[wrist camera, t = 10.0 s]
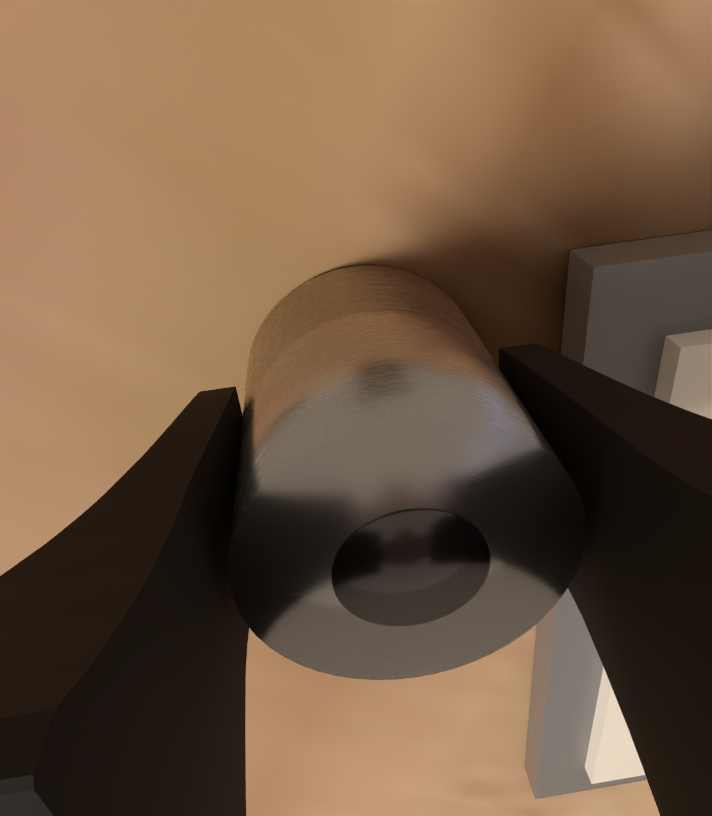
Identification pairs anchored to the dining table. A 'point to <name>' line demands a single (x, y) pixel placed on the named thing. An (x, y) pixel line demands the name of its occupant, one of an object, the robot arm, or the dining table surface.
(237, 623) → the robot arm
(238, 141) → the dining table surface
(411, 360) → the steel spacer
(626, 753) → the kitchen scale
